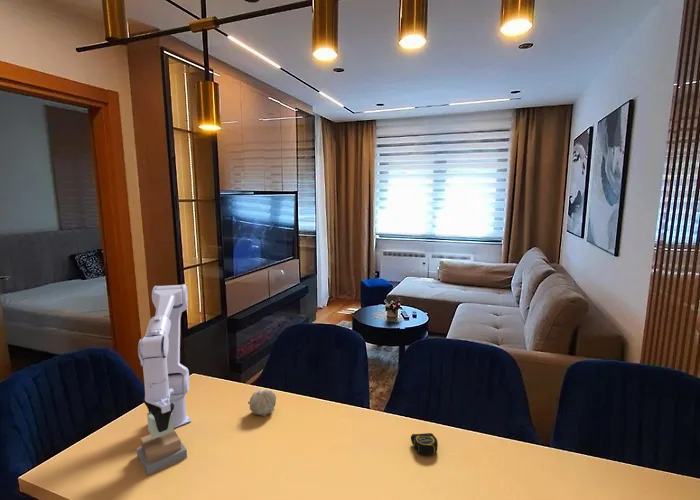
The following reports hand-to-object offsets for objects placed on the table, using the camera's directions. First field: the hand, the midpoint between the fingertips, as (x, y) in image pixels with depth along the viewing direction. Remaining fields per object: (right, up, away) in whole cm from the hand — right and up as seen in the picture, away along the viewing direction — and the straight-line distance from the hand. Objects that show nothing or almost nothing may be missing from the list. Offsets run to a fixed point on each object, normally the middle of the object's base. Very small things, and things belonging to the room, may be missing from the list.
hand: (159, 425), depth 102 cm
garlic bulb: (+23, -7, +22) cm, 32 cm away
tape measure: (+73, -9, +5) cm, 74 cm away
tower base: (0, -10, +1) cm, 10 cm away
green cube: (0, -1, 0) cm, 2 cm away
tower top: (0, -7, +1) cm, 7 cm away
